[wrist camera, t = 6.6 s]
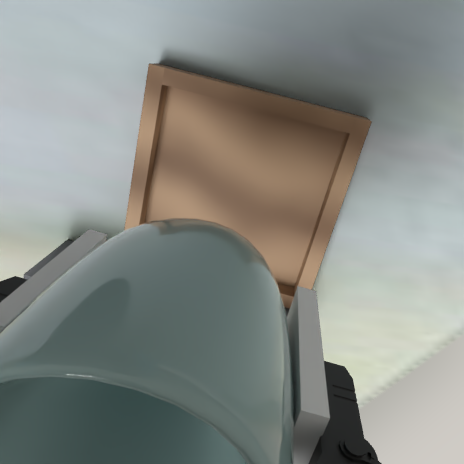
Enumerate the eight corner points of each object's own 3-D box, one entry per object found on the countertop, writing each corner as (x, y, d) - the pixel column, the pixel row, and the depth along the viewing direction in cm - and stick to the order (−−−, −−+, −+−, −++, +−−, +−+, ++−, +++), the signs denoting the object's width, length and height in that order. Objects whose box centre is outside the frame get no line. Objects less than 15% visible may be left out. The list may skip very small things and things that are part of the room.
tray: (158, 63, 28) (148, 63, 26) (366, 117, 28) (371, 121, 26) (128, 250, 34) (119, 261, 32) (302, 298, 33) (303, 312, 31)
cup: (288, 185, 16) (285, 364, 6) (295, 360, 18) (301, 661, 9) (87, 195, 17) (-159, 361, 8) (123, 359, 20) (-25, 625, 10)
